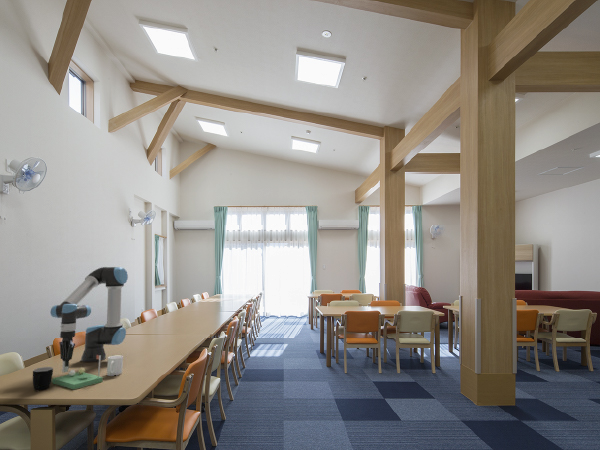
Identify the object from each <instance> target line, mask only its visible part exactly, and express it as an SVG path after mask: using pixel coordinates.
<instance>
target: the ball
mask: <svg viewBox="0 0 600 450" xmlns="http://www.w3.org/2000/svg"><path fill="white" fill-rule="evenodd" d="M67 373H68V374H67V375H69V376H74V375H75V373H76V370H74V369H70V370H68V372H67Z"/></svg>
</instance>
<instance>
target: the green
mask: <svg viewBox="0 0 600 450" xmlns="http://www.w3.org/2000/svg"><path fill="white" fill-rule="evenodd" d="M100 357H101V356H98V355H97V358H96V359H99V361H98V371H97V373H98V374H97V375H96V374H91V373H88V372H84V373H83V374H79V373H78V371H77V372H75V375H74V376H69V374H66V375H61V376H57V377H52V380H51V384H54V385H57V386H61V387H64V388H68V389H69V390H70V389H71V390H73V391H74V390H77V389H81V388H84V387H87V386H92V385H95V384H99V383H103V380H104V379H103V378H104V377H103V376H100V373H101V360H100Z"/></svg>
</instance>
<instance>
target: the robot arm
mask: <svg viewBox="0 0 600 450" xmlns="http://www.w3.org/2000/svg"><path fill="white" fill-rule="evenodd" d="M128 278H129V276H128V272H127V270H126V269H125V268H124V267H120V266H119V267H118V266H112V267H111V266H110V267H108V266H107V267H106V266H104V267H103V266H102V267H98V268H97V269H94V271H91V272H90V273H89V274H88V275H87V276H86V277H85V278H84V281H83V282H82V283H81V284H79V285H78V286H77V287H76V289H74V290H73V292H71V293H70V294H69V296H67V297H66V298H65V299H64V300H63V302H62V303H60V304H57V305H53V306H52V307H50V316H51V317H52V318H57V319H61V322H60V334H59V337H60V339H61V341H59V352H60V355H59V356H60V360H62V365H61V366H62V369H61V373H63V374H64V373H69V369H70V368H69V367H70V360H72V358H73V355H74V354H73V353H74V350H75V346H76V343H74V340H73V338H75V337H76V327H77V320H78V319H85V318H87V317H89V316H90V315H91V313H92V308H91V306H90V305H87V304H86V305H85V304H82V305H79V303H81V301H82V300H83V299H84V298H85V297H86V296H87V295H89V293H90V292H91V291H92V290H93V289H94V288H97V287H98V286H99V285H101V284H105V288H106V289H107V305H106V306H107V307H106V308H107V310H106V312H107V313H106V323H105V324H99V325H94V326H88V327H87V328H86V329H85V336H84V337H85V339H84V350H83V352H82V355H81V358H80V361H81V362H83V363H92V362H93V363H94V362H99V359H96V358H97V355H98V356H101V357H100V361H103V360H106V357H107V356H106V352H105V349H104V346H105V345H111V346H117V345H118V346H119V345H121V344H122V343H123V342H124V340H125V338H126V335H127V330H126V328H125V327H123V323H122V322H121V314H122V313H121V312H122V288H123V287H124V286H125V284H126V283H127V281H128Z"/></svg>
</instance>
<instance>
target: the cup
mask: <svg viewBox="0 0 600 450" xmlns="http://www.w3.org/2000/svg"><path fill="white" fill-rule="evenodd" d="M123 361H124V356H123V355H120V354H118V355H111V356H108V357H107V369H106V375H107V376H109V377H113V376H114V375H116V376H120V375H121V374H122V373H123V365H124V364H123ZM119 374H120V375H119Z"/></svg>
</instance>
